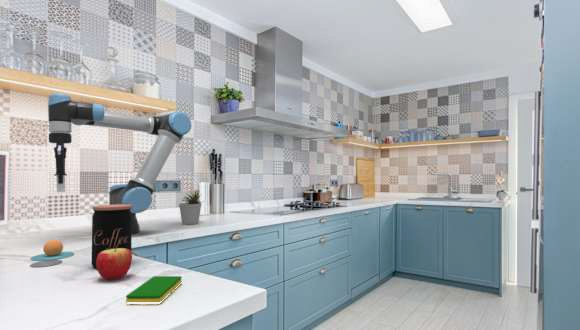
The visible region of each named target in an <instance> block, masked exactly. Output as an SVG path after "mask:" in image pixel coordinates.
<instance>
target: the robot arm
mask: <svg viewBox="0 0 580 330" xmlns="http://www.w3.org/2000/svg"><path fill="white" fill-rule="evenodd" d="M71 97H72V96H70V95H68V94H64V93H51V94H49V95H48V101H47V103H48V105H47V111H48V112H47V113H48V116H47V117H48V124H46V127H47V128H48V132H50V133H48V143H50V144H55V147H53V151H54V158H55V170H56V171H55V174H53V175H54V177H56V193H66V176H68V174H67V173H66V158H67V151H68V148H67V147H65V144H71V143H72V142H73V141H72V140H73V139H72V134H71V133H72V129H73V128H72V124H73V125H75V126H83V125H84V126H91V127H92V126H93V127H102V128H109V129H111V128H112V129H119V130H126V131H134V132H135V131H136V132H142V133H144V132H145V133H147V135H152V136H157V139H156V141H155V142H154V144H153V145H152V148H151V149H150V151H149V152H148V155H147V156H146V158H145V160H144V162H143V163H142V165H141V166H140V169H139V170H138V172H137V174H136V175H135V176H134V178H131V179H129V180H128V182H127V183H123V184H115V185H112V186H110V187H109V191H108V194H109V195H108V197H109V199H108V200H109V202H108V203H109V204H108V205H115V204H128V205H132V208H131V209H130V211H131V212H132V234H136V233H140V225H139V221H138V218H137V214H140V213H143V212H146V211H147V210H148V209H149V207H150V206H151V204H152V201H153V197H152V195H153V193H154V191H155V189H154V184H155V182H156V180H157V179H158V177H159V175H160V173H161V171H162V169H163V168H164V166H165V164H166V162H167V161H168V159H169V156H170V154H171V153H172V151H173V149H174V147H175V145H177V144H179V143H181V141H182V140H183V137H184V136H185V135H186V134H188V133H189V132H190V131H191V129H192V121H191V119H190V117H189V116H188V115H187V114H186V113H185V112H183V111H173V112H171V113H168V114H164V115H157V116H154V115H148V116H141V115H135V114H134V115H133V114H126V113H121V112H120V113H119V112H113V111H108V110H105V108H104V105H102V104H99V103H96V102H95V103H93V102H83V101H75V100H72V98H71Z"/></svg>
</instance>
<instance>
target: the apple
mask: <svg viewBox="0 0 580 330" xmlns="http://www.w3.org/2000/svg"><path fill="white" fill-rule="evenodd" d="M121 241H122V239H121V240H120V242H121ZM120 242H119V243H120ZM119 243H118V244H119ZM118 244H117V246H118ZM117 246H116V249H109V250H105V251H102V252H100V253H99V254H98V256H97V260H96V266H97V269H96V270H97V272H98V274H99V276H100V277H101V278H103V279H105V280H107V281H108V280H110V281H114V279H115V280H119V279H121V278H123V277H124V276H126V274H128V272H129V270H130V268H131V266H132V261H133V254H132V250H131V251H130V250H129V249H126V248H117Z"/></svg>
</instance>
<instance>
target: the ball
mask: <svg viewBox="0 0 580 330" xmlns="http://www.w3.org/2000/svg"><path fill="white" fill-rule="evenodd" d="M42 249H43V254H46V255H48V256H56V255H58V254H60V253H61V252H63V249H64V245H63V242H62V241H60V240H58V239H50V240H48V241H46V243H45V244H44V245H43V248H42Z"/></svg>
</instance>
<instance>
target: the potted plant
mask: <svg viewBox="0 0 580 330" xmlns="http://www.w3.org/2000/svg"><path fill="white" fill-rule="evenodd" d="M185 194H186V195H187V196H186V195H184V196H183V199H182V202H183V201H184V202H183V203H179V204H178V207H179V210H180V211H179V212H180V218H181V219H180V220H181V223H182V225H184V224H185V225H187V226H190V225H192V224H193V225H197V224H199V221H200V217H201V216H200V214H201V210H202V209H201V208H202V203H203V202H205V200H203V201H200V200H201V199H199V198H200V196H201V195H200V189H198V191H194V192H190V194H191V195H190V194H188V193H186V192H185Z"/></svg>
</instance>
